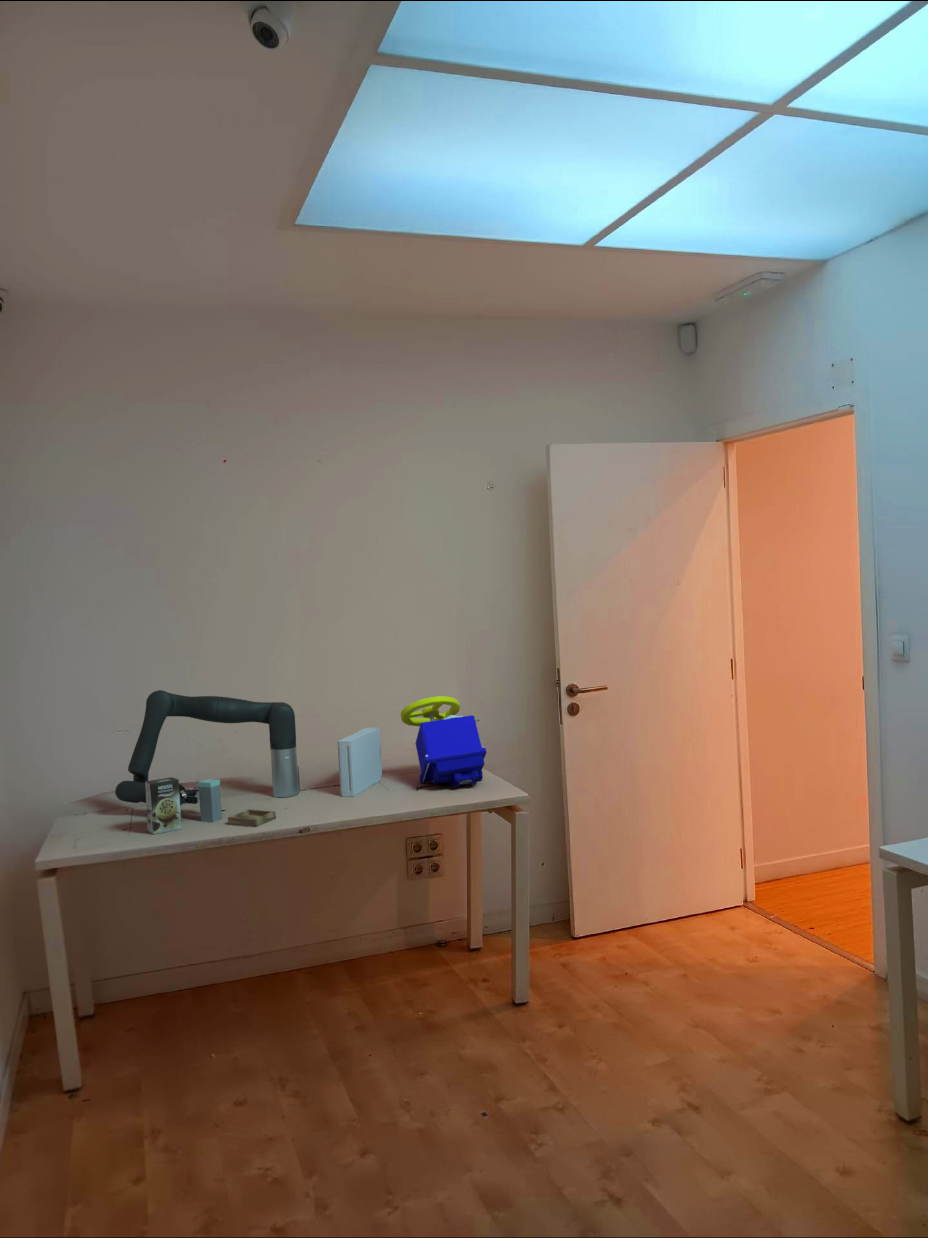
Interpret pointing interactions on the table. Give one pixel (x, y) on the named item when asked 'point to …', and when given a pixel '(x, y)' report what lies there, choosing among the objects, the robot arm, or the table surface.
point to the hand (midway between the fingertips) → (205, 797)
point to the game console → (359, 761)
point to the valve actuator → (446, 742)
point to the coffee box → (163, 805)
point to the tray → (251, 818)
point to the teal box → (210, 800)
